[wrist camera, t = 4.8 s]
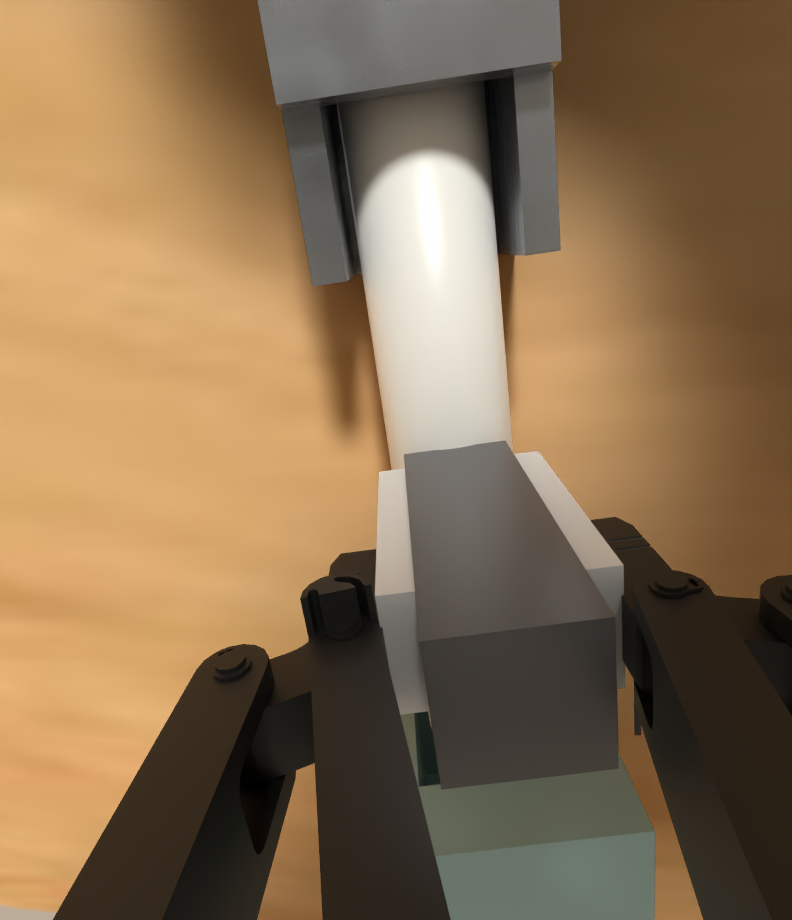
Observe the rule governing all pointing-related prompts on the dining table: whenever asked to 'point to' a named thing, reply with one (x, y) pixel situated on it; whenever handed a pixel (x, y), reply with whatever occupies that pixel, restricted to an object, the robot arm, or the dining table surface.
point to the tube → (470, 458)
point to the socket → (537, 842)
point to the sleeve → (409, 70)
